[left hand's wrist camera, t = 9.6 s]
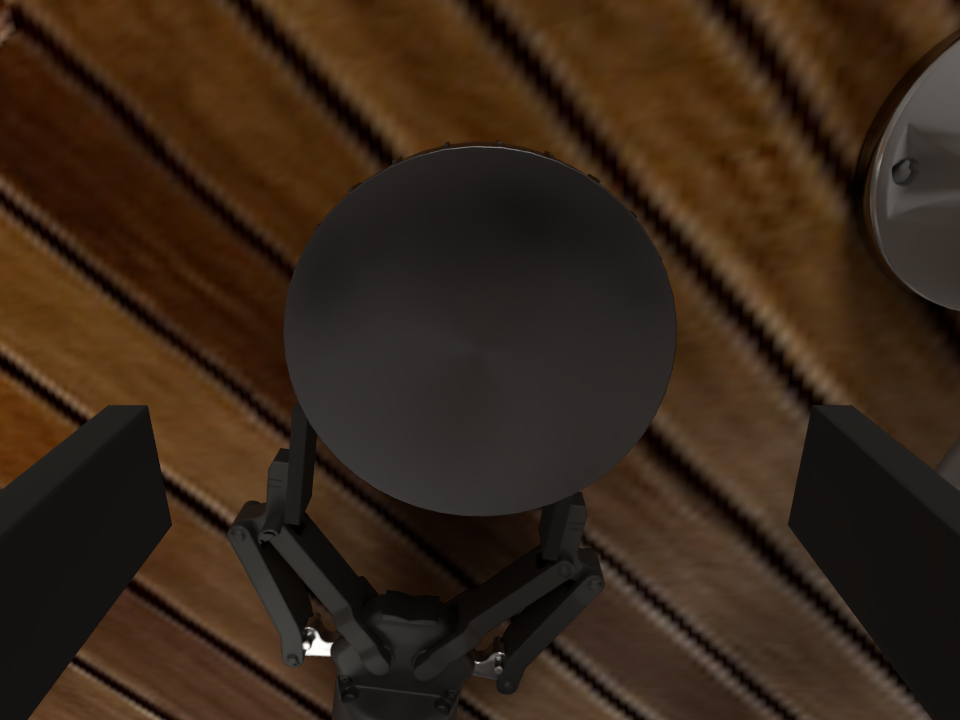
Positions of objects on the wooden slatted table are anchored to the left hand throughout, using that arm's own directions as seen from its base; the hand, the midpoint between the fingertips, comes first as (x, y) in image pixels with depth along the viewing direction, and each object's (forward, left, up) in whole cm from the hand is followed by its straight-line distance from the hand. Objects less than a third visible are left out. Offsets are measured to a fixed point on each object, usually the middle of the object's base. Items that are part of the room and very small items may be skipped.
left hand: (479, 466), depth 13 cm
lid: (0, 0, -7) cm, 7 cm away
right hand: (-4, +7, -18) cm, 20 cm away
